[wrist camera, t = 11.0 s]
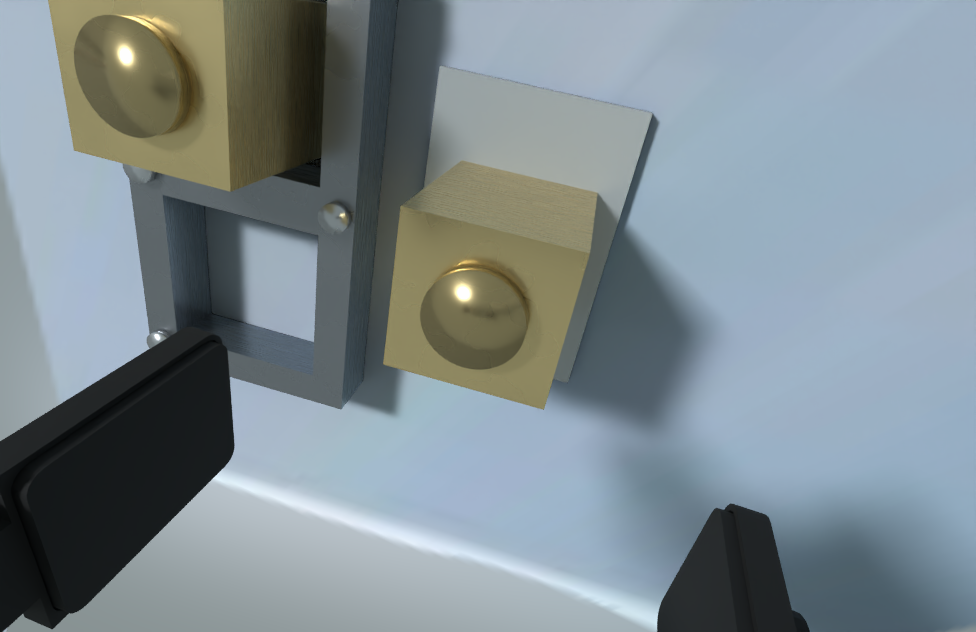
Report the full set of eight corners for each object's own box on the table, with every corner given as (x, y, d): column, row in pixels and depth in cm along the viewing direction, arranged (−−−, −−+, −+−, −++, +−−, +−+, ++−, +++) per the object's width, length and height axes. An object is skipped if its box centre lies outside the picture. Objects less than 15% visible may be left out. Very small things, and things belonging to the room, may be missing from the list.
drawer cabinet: (402, -54, 19) (369, -70, 17) (362, 380, 28) (337, 414, 26) (147, -106, 20) (79, -128, 18) (187, 330, 29) (146, 357, 27)
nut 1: (340, 6, 20) (207, -13, 14) (333, 152, 23) (218, 196, 16) (207, -24, 21) (18, -55, 14) (215, 123, 24) (57, 153, 17)
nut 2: (597, 192, 21) (589, 260, 14) (562, 315, 24) (541, 420, 17) (461, 160, 22) (393, 211, 15) (442, 283, 24) (376, 373, 18)
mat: (651, 112, 20) (652, 113, 19) (568, 378, 25) (567, 383, 25) (442, 65, 21) (439, 66, 20) (406, 333, 26) (404, 337, 26)
